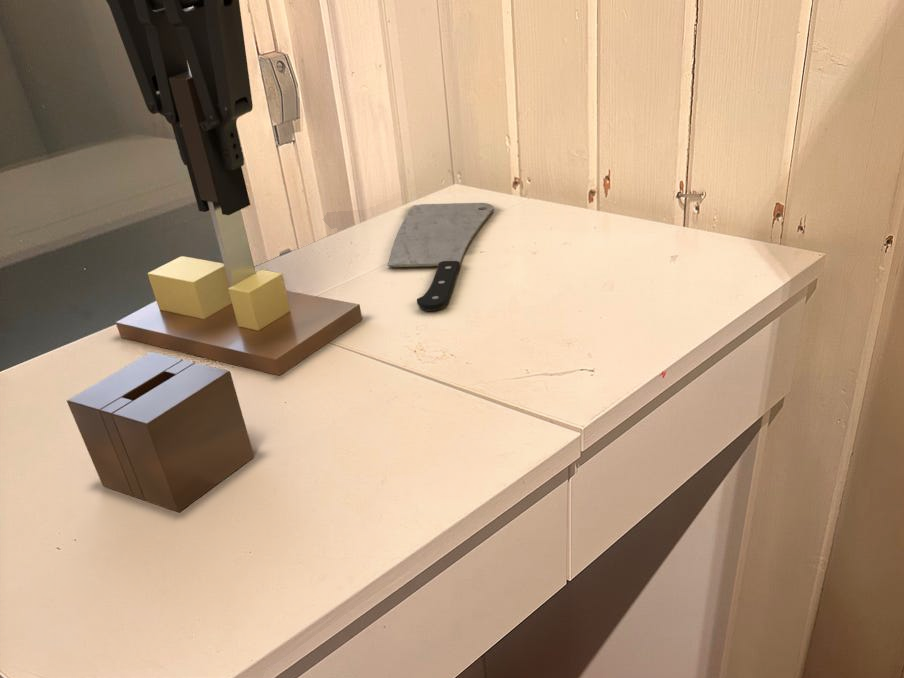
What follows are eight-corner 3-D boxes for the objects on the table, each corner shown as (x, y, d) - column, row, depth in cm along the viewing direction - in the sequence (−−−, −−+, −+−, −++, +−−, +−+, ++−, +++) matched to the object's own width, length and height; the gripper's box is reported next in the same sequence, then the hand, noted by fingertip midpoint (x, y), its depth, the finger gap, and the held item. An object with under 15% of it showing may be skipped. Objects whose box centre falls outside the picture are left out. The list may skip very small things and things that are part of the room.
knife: (231, 315, 84) (167, 77, 71) (253, 302, 85) (195, 68, 72) (248, 318, 83) (186, 78, 70) (269, 305, 85) (213, 69, 72)
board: (120, 337, 87) (115, 322, 86) (208, 289, 94) (204, 274, 93) (279, 375, 78) (275, 359, 77) (362, 319, 86) (359, 304, 85)
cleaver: (348, 312, 87) (451, 310, 85) (347, 306, 86) (450, 305, 85) (413, 207, 108) (496, 204, 106) (412, 203, 107) (496, 200, 106)
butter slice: (238, 326, 83) (227, 288, 81) (270, 307, 86) (261, 269, 83) (258, 331, 82) (248, 292, 79) (290, 311, 85) (282, 273, 82)
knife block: (102, 486, 67) (65, 400, 63) (179, 434, 72) (151, 351, 67) (179, 512, 64) (146, 424, 59) (254, 456, 69) (230, 370, 64)
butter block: (159, 309, 87) (147, 273, 85) (192, 291, 90) (181, 255, 88) (204, 319, 85) (193, 282, 82) (237, 300, 87) (227, 263, 85)
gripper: (251, -170, 61) (320, 202, 77) (99, -155, 67) (192, 185, 83) (170, -160, 56) (262, 233, 72) (15, -145, 63) (131, 213, 79)
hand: (224, 207), depth 78 cm, fingers closed on knife, 2 cm apart
